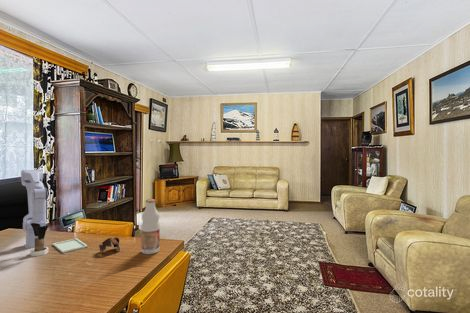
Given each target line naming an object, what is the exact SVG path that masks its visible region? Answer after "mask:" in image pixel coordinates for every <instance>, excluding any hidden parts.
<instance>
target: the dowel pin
mask: <svg viewBox="0 0 470 313" xmlns="http://www.w3.org/2000/svg"><path fill="white" fill-rule="evenodd" d="M44 247H45V238H44V239H41V240H39V239H38V237H37V238H35V252H38V251H43V250H44Z"/></svg>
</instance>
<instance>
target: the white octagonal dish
mask: <svg viewBox="0 0 470 313" xmlns="http://www.w3.org/2000/svg"><path fill="white" fill-rule="evenodd" d="M29 251H30V252H29V255H30V257H39V256H44V255H47V253H49V247H48V246H44V250H43V251H38V252H35V248H31V250H30V249H29Z"/></svg>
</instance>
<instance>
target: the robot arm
mask: <svg viewBox="0 0 470 313" xmlns="http://www.w3.org/2000/svg"><path fill="white" fill-rule="evenodd" d="M20 179H21V180H20V181H21V185H22V186H24V187H25V189H26V191H27V206H28V208H27V209H28V213H27V214H26V215H24V217H23V219H22V221H23V222H22V230H23V231H24V232H25V243H24V244H23V246H24V247H25V248H26V249H27V250H30V249H34V248H35V238H37V237H38V239H39V240H41V239H44V240H45V236H46V234H47V233H46V232H47V229H48V228H49V224H47V199H48V195H49V194H48V188H47V187H45V185H44V183H43V180H44V170H43V169H42V168H40V169H22V170H21V172H20Z"/></svg>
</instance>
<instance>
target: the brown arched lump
mask: <svg viewBox="0 0 470 313" xmlns="http://www.w3.org/2000/svg"><path fill="white" fill-rule="evenodd" d="M119 244H120V238H119V237H117V236H116V237H114V238H112V237H108V238H107V239H104V240H103V241H102V242H101V243H100V244H99V245H98V248H99V252H104V251H106V249H107V248H108V247H110V248H111V247H112V246H113V248H116V249H115V251H116V253H117V254H118V253H119V252H120V250H121V248H120V245H119Z"/></svg>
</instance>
